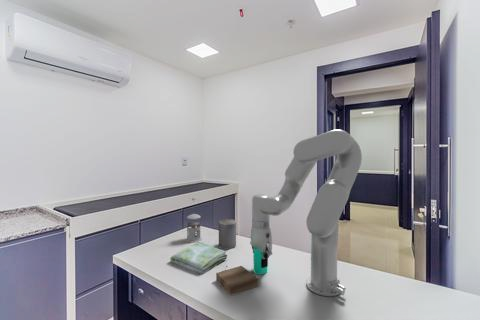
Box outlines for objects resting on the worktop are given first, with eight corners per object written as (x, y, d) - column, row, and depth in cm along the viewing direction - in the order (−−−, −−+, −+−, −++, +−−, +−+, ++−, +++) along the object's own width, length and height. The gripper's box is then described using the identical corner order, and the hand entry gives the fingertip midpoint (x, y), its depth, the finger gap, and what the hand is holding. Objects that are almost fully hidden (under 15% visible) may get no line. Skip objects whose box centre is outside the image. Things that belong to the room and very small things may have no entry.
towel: (202, 276, 100) (202, 264, 100) (169, 263, 112) (169, 252, 112) (228, 260, 115) (228, 249, 115) (197, 250, 127) (197, 240, 127)
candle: (263, 275, 100) (263, 247, 99) (251, 271, 103) (251, 244, 103) (269, 269, 105) (269, 242, 104) (257, 266, 108) (257, 240, 108)
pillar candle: (221, 241, 137) (221, 216, 137) (237, 243, 136) (237, 217, 135) (216, 248, 128) (216, 221, 127) (234, 250, 126) (233, 222, 125)
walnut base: (257, 285, 92) (257, 278, 92) (230, 295, 86) (230, 287, 86) (241, 272, 102) (241, 265, 102) (216, 280, 96) (216, 273, 96)
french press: (182, 242, 137) (182, 199, 136) (190, 235, 148) (190, 195, 147) (199, 243, 135) (198, 199, 134) (205, 236, 146) (205, 196, 146)
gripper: (280, 227, 98) (280, 270, 99) (256, 217, 112) (256, 255, 113) (266, 230, 94) (265, 275, 95) (242, 219, 109) (242, 259, 109)
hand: (260, 264), depth 104 cm, fingers closed on candle, 4 cm apart
